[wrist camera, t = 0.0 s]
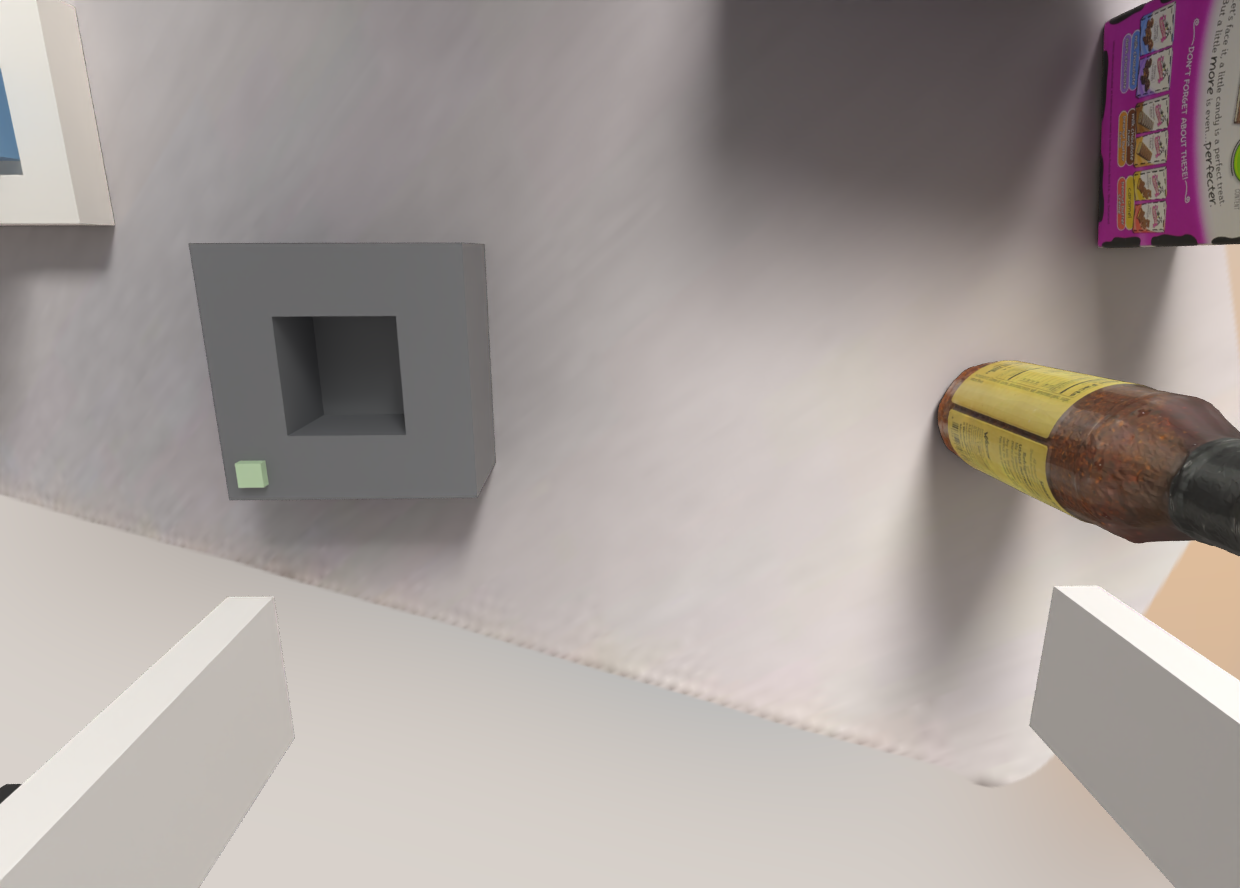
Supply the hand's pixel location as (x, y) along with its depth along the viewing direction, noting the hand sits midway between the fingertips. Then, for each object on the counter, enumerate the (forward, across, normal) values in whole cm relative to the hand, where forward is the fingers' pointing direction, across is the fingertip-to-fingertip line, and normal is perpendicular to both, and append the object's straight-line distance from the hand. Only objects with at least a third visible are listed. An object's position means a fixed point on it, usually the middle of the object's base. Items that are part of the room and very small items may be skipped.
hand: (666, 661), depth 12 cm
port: (+28, -13, +1) cm, 31 cm away
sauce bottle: (+28, +21, -2) cm, 35 cm away
